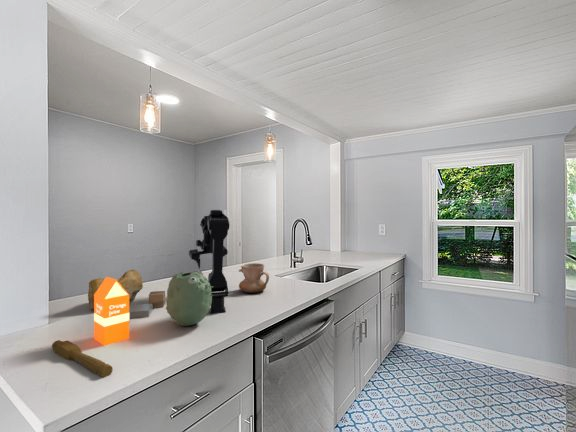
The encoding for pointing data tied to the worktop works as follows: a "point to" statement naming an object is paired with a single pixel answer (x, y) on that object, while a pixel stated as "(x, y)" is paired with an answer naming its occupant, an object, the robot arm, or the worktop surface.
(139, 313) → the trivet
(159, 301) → the cube
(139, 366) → the worktop surface
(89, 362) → the tap handle
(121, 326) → the orange juice
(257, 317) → the worktop surface
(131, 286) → the rough brown rock
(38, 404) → the worktop surface
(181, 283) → the green bumpy vase
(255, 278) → the ceramic jug
